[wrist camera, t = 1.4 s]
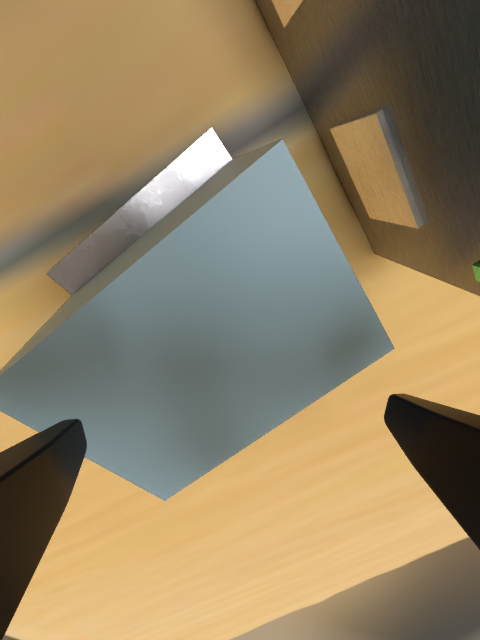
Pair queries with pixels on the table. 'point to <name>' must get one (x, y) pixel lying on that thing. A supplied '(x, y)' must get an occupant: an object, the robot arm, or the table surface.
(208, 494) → the table surface
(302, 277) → the pale blue box
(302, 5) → the dark grey case
